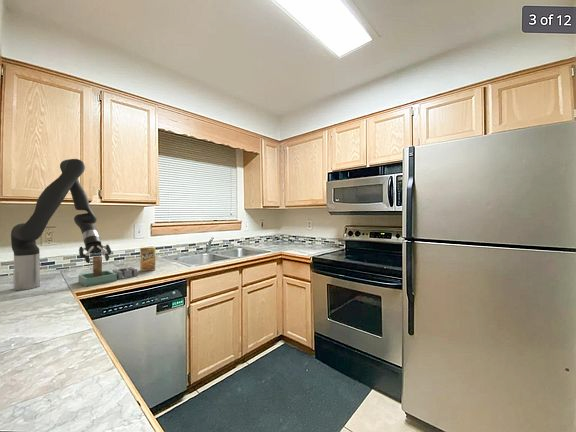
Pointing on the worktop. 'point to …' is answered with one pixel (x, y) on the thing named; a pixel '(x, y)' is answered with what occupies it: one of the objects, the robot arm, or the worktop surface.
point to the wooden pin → (97, 266)
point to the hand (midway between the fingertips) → (98, 261)
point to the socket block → (125, 272)
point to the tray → (97, 278)
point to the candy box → (147, 258)
